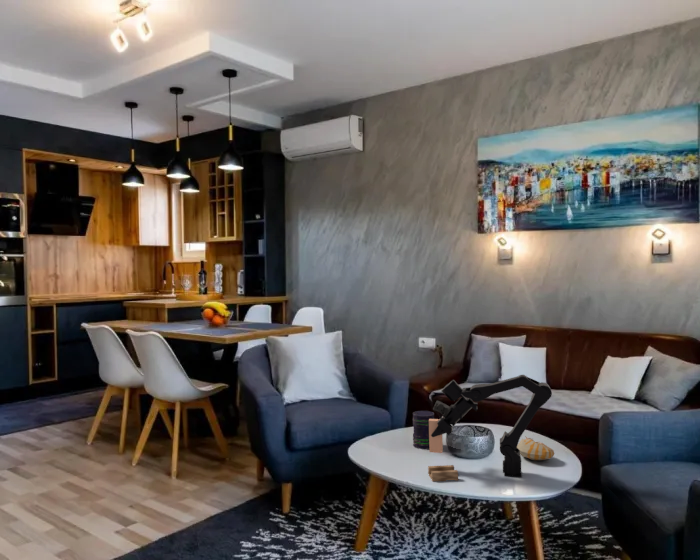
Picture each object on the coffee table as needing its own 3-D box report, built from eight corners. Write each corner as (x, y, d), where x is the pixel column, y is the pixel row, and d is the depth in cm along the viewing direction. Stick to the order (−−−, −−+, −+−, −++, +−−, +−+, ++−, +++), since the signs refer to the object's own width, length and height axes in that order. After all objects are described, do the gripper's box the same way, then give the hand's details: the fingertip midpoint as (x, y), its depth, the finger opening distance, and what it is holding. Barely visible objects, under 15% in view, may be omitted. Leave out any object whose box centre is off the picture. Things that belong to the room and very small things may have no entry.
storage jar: (432, 442, 266) (431, 410, 265) (437, 448, 256) (436, 415, 256) (411, 442, 265) (410, 411, 265) (415, 449, 255) (414, 416, 255)
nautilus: (512, 449, 255) (548, 452, 252) (517, 462, 234) (556, 466, 231) (513, 431, 255) (548, 434, 252) (518, 443, 234) (556, 446, 231)
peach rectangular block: (442, 450, 232) (441, 419, 231) (441, 452, 229) (441, 421, 228) (430, 450, 233) (429, 418, 232) (429, 452, 231) (428, 420, 230)
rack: (452, 472, 226) (452, 464, 226) (458, 480, 218) (458, 472, 218) (428, 473, 225) (428, 465, 225) (432, 481, 217) (432, 473, 217)
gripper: (447, 389, 238) (421, 414, 241) (442, 400, 220) (414, 426, 223) (466, 409, 237) (440, 434, 240) (463, 421, 218) (435, 448, 222)
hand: (432, 435), depth 231 cm, fingers closed on peach rectangular block, 3 cm apart
